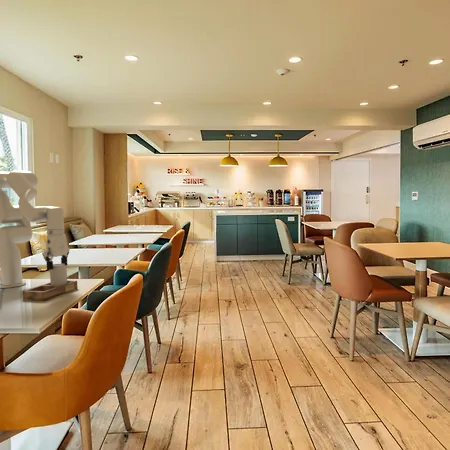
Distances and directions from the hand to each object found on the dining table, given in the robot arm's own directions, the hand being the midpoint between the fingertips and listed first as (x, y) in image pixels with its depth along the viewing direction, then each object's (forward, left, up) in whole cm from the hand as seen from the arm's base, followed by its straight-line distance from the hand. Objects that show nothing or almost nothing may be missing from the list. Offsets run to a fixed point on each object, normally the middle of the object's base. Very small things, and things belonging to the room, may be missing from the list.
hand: (57, 267), depth 175 cm
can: (0, 0, -11) cm, 11 cm away
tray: (+1, -5, -12) cm, 13 cm away
